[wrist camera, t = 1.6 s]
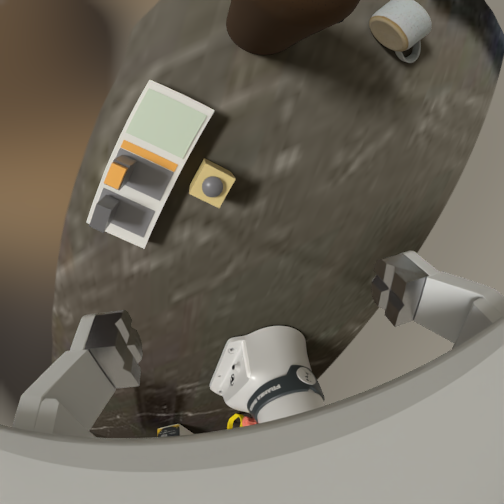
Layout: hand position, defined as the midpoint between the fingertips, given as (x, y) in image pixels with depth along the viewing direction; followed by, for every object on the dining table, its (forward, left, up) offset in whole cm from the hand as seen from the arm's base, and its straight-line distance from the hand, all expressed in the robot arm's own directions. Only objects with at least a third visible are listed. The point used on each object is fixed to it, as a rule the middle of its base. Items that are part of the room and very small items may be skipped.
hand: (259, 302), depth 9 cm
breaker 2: (-5, +9, -28) cm, 30 cm away
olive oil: (+20, +4, -31) cm, 37 cm away
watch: (-50, -31, -31) cm, 66 cm away
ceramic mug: (+34, -13, -31) cm, 47 cm away
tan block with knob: (-2, -1, -31) cm, 31 cm away
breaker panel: (-4, +7, -30) cm, 32 cm away
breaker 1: (-10, +9, -28) cm, 31 cm away
